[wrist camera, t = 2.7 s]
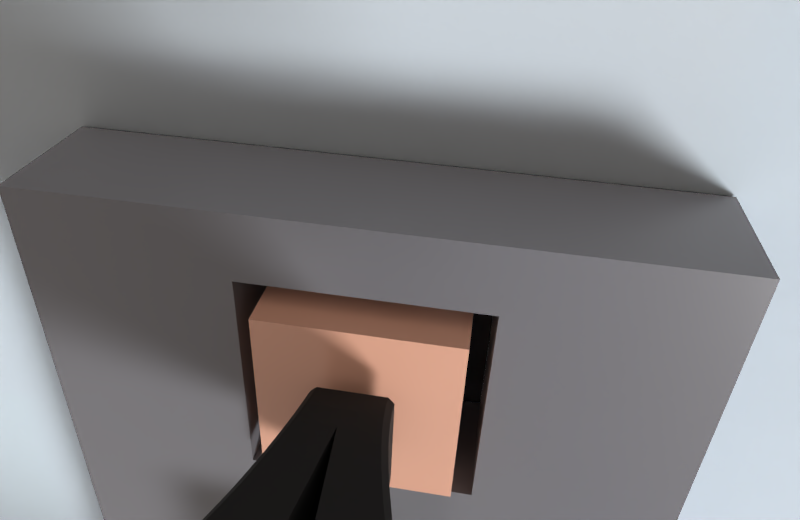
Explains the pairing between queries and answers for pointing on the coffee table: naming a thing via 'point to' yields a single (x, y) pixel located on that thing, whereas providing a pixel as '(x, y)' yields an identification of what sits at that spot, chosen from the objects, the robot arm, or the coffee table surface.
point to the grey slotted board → (391, 282)
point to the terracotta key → (367, 371)
